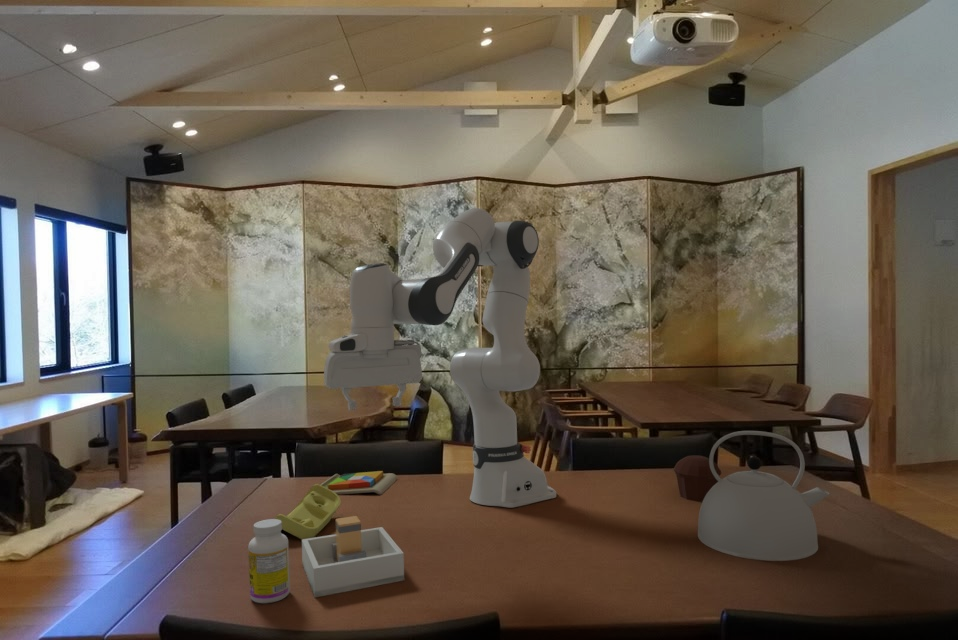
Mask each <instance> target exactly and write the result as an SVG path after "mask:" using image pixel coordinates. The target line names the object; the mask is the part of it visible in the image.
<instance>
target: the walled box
mask: <svg viewBox="0 0 958 640" xmlns="http://www.w3.org/2000/svg"><path fill="white" fill-rule="evenodd" d="M361 548H362V551H358V552H352V553H346V554H340V555H338V560H339V562H338V561H337V545H336V533H335V534H329V535H322V536H317V537H316V536H315V537H314V538H309V539H301V558H302V559H301V561H302V567H304V568H303V570H304V573H305V572H306V573H305V575H307V576H306V579H307V581H308V584H309V583H310V584H309V586H310V589H311V591H313V592H312V594H313V596H314V598H319V597H324V596H330V595H335V594H336V595H337V594H341V593H346V592H352V591H356V590H361V589H366V588H371V587H376V586H382V585H387V584H392V583H397V582H403V581H405V557H404V552H403V551H402V549H401V548H400V547H399V546H398V544H397V543H396V542H395V541H394V540H393V539H392V537H391V536H390V534H389V533H388V531H386V530H385V529H384V527H382V526H380V527H374V528H367V529H361Z"/></svg>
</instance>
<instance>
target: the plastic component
mask: <svg viewBox="0 0 958 640" xmlns="http://www.w3.org/2000/svg"><path fill="white" fill-rule="evenodd" d="M341 502H342V500H341V497H340V496H339V495H337V494H336V493H335V492H333V491H332V490H330V489H328V488H326V487H324V486H322V485H321V484H319V483H316V484H313V485H312V486H311V487H310V488H309V490H308V491H307V492H306V494H305V495H304V496H303V498H302V499H301V500H300V501H299V503H298V504H297V505H296V506H295V507H294V509H292V511H291V512H290V513H289V514H287V515H285V514H282V513H279V514H278V515H276V516H275V518H274V519H278V520H281V521H282V530H283V531H284V532H285V533H286V532H287V533H288V534H290V535H292V536H294V537H296V538H298V539H300V540H302V539H309V538H315V537H316V536H317V535H318V534H319V533H320V532H321V531H322V530H323V529H324V528H325V527H326V526H327V525H328V524H329V523H330V521H331V519H332V517H333V516H334V515H335V514H336V512H337V510H338V508H339V507H340V505H341ZM282 530H281V531H282Z"/></svg>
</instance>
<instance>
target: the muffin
mask: <svg viewBox="0 0 958 640" xmlns="http://www.w3.org/2000/svg"><path fill="white" fill-rule="evenodd" d="M713 465H714V469H715V471H716V473H717V474H718V476H719V477H720V476H721V475H722V470H721V469H720V467H719V466H718V464H717V463H716V462H714V461H713ZM673 471H674V473H675V474H676V475H675V476H676V480H677V481H676V482H677V487H678V492H679V496H680V497H681V498H683V499H685V500H689V501H695V502H703V500H704V498H705V496H706V494H707V493H708V491H709V490H710V489H711V488H712V487H713V486H714V485H715V484H716V483H717V482H718V481H717V479H716V478H715V477H714V475H713V474H712V472H711V469H710V465H709V457H706V456H703V455H695V454H694V455H693V454H692V455H687V456H685V457H683V458H681V459H680V460H678V461H677V462H676V463H675V465H674V467H673Z"/></svg>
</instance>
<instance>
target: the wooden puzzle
mask: <svg viewBox="0 0 958 640" xmlns="http://www.w3.org/2000/svg"><path fill="white" fill-rule="evenodd" d="M397 480H398V476H397V475H396V474H395V473H390V472H388V473H384V471H383V470H377V471H367V472H366V471H364V472H363V471H362V472H350V473H349V472H348V473H343V474H341V475H340V474H338V473H335V474H334V475H332V476H331V477H329V478H328V479H327V480H325V481H323V482H322V483H321V484H320V485H322V486H324V487H326V488H328V489H330V490H332V491H333V492H335V493H336V494H337V495H338V496H339V495H353V494H367V493H375V494H377V495H379V496H380V495H383V494H384V493H385V492H386V491H387V490H388V489H389V488H390V487H391V486H392V485H393V484H395V482H396V481H397Z"/></svg>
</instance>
